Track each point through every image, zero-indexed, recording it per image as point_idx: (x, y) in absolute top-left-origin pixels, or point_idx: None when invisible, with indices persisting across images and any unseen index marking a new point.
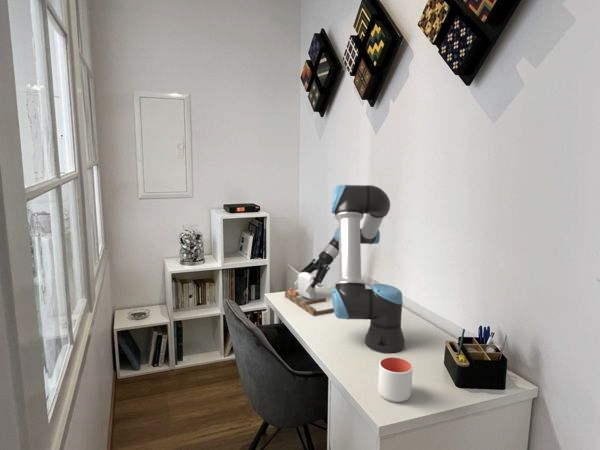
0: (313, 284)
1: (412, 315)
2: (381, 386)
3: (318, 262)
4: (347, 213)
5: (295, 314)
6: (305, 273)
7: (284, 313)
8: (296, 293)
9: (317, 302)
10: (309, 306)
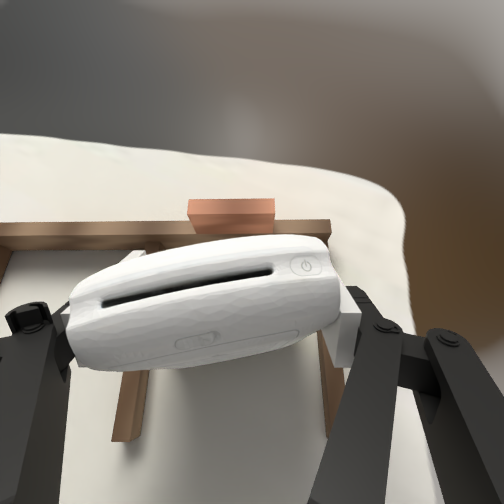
0: (66, 306)
1: None
2: None
3: None
4: None
5: (82, 182)
6: (194, 257)
7: (122, 151)
8: (191, 218)
9: None
10: (27, 227)
